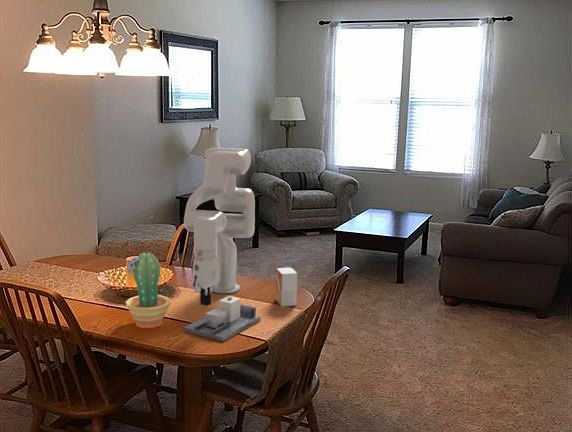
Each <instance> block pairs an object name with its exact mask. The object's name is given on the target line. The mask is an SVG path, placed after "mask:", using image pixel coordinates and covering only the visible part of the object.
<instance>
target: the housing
mask: <svg viewBox="0 0 572 432" xmlns="http://www.w3.org/2000/svg"><path fill="white" fill-rule="evenodd" d="M240 304H241V298H239V297H235V296H231V295H227V296H226V297H224V298H222V299H219V300H218V310H222V311H226V312H227V314H228V315H227V322H232V321H234V320H236V319H238V318H240Z"/></svg>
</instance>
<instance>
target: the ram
mask: <svg viewBox="0 0 572 432" xmlns="http://www.w3.org/2000/svg"><path fill="white" fill-rule="evenodd" d="M227 315H228V314H227V312H226V311H222V310H219V308H213V309H211V310H209V311H207V312H205V315H204V317H205V326H208V327H212V328H216V329H217V328H218V327H220V326H222V325H224V324H226V323H227Z"/></svg>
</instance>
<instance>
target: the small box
mask: <svg viewBox="0 0 572 432" xmlns="http://www.w3.org/2000/svg"><path fill="white" fill-rule="evenodd" d="M275 269H276V271H275V276H276V277H275V301H277V303H278V304H279V305H280V307H290V306H292V307H293V306H297V298H298V297H297V294H298V292H297V291H298V272H296V270H295V269H293V268H292V267H279V268H278V267H276V268H275Z"/></svg>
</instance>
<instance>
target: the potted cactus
mask: <svg viewBox="0 0 572 432" xmlns="http://www.w3.org/2000/svg"><path fill="white" fill-rule="evenodd" d="M127 272H128V273H129V275H130V276H131V275H132V274H133V275H132V276H133V280H134V282H135V284H136V289H137V295H136V296H132V297H130V298H128V299H127V300H126V301H125V305H126V307H127V310H129V312H130V314H131V316H132V318H133V320H134V321H135V325H136V327H138V328H141V329H142V328H143V329H149V328H150V329H151V328H153V329H154V328H157V327H160V326H161V325H162V323H163V322H162V319H163V318H164V317H165V315H166V313H167V312H168V308H170V306H171V303H172V301H171V299H170V298H169V297H168V296H164V295H161V294H158V293H159V292H158V289H159V288H158V285H159V280H160V277H161V263H160V262H159V260H158V258H157V257H156V256H155V255H154V254H153V253H151V252H147V253H146V252H142V253H139V255H138V256H134V257H132V258H131V260H130V262H129V264H128V266H127Z"/></svg>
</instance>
